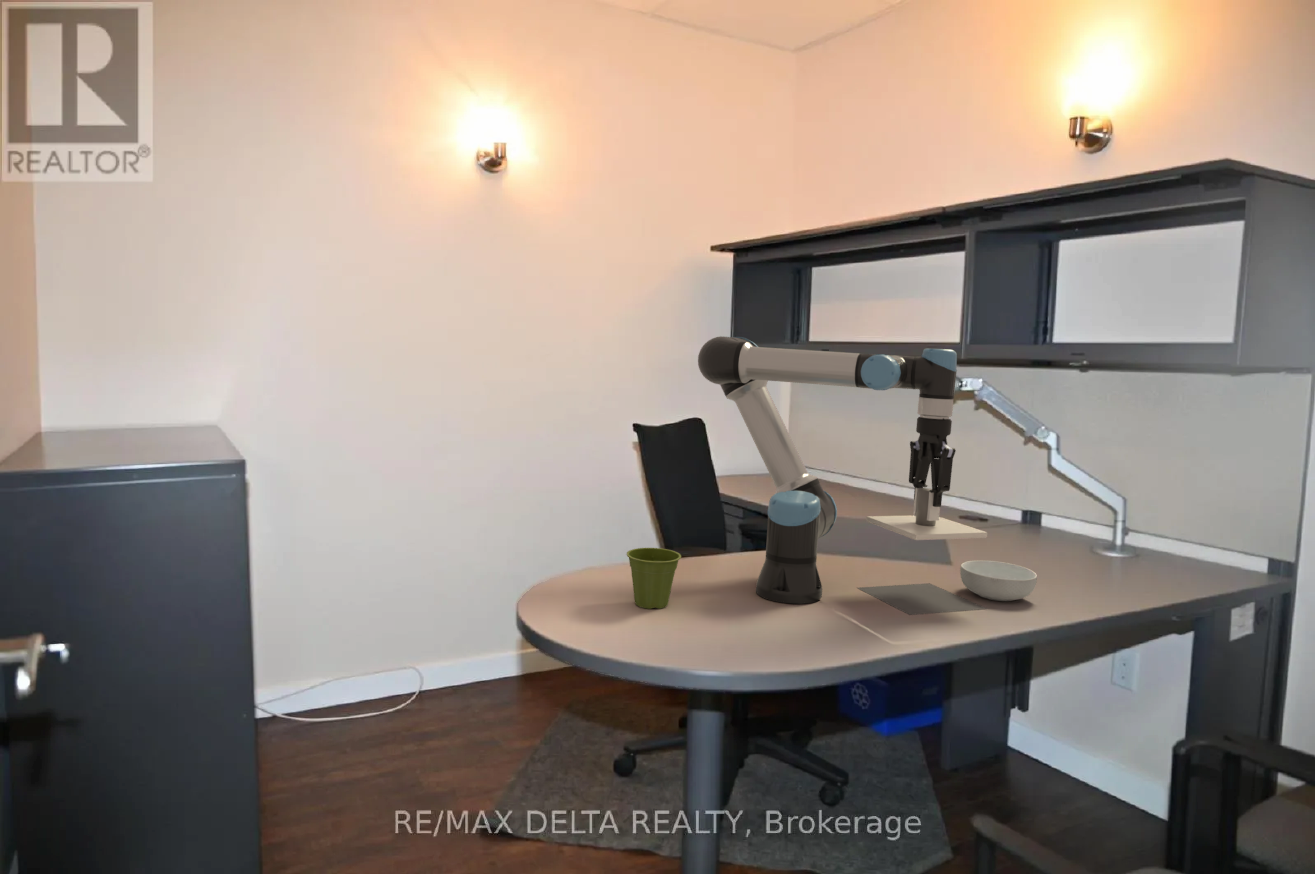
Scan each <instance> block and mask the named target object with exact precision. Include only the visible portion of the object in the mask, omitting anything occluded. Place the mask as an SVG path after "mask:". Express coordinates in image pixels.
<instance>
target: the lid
mask: <svg viewBox="0 0 1315 874" xmlns="http://www.w3.org/2000/svg"><path fill="white" fill-rule="evenodd" d="M929 490H932V488H928V487H923V488H920V489H918V499H917V511H916V516H913V515H875V516H874V515H870V516H869V515H868V516H866V521H865V522H867V523H870V524H872V525H875V526H877V527H881V528H883V529H885V530H888V531H891V532H893V533H896V534H899V535H901V536H902V537H903V536H904V537H906V538H908V539H910V540H914V541H926V540H929V541H931V540H934V541H935V540H955V539H956V540H957V539H958V540H960V539H961V540H962V539H986V538H988V532H987V531H984V530H982V529H978V528H975V527H972V526H969V525H966V524H963V523H959V522H957V521H954V520H950V519H947V518H944V517H943V516H942V517H940V516H939V521H928V520H927V512H928V501H929V492H930V491H929Z"/></svg>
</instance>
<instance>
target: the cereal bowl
mask: <svg viewBox="0 0 1315 874" xmlns="http://www.w3.org/2000/svg"><path fill="white" fill-rule="evenodd" d="M959 571H960V572H959V573H960V578H961V582H962V583H963V585H964V586H965V587H966V589H968V590H969V591H970V592H972V593H973V594H976V595H977V596H979V597H981V598H983V599H987V600H992V601H998V602H1012V601H1015V600H1016V601H1017V600H1021V599H1024V598H1026V597H1028V596H1029V595H1031V594H1032V593H1033V592H1034V590H1035V588H1036V586H1037V582H1038V575H1037V573H1036V572H1034V571H1033V570H1032V569H1029V568H1027V567H1025V566H1023V565H1022V566H1021V565H1019V564H1014V563H1010V562H1003V561H997V560H968V561H964V562H963V563H961V564H960V570H959Z"/></svg>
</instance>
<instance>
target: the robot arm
mask: <svg viewBox="0 0 1315 874" xmlns="http://www.w3.org/2000/svg"><path fill="white" fill-rule="evenodd" d="M957 361H958V355H957V352H956V351H955V350H953V349H950V348H949V349H945V348H944V349H943V348H929V347H928V348H924V349H923V351H922V354H921V356H909V355H894V354H884V353H883V354H882V353H881V354H880V353H878V354H877V353H876V354H875V353H861V352H860V353H858V352H843V351H826V350H811V349H796V348H795V349H794V348H779V347H777V348H775V347H762V346H758V345H757V344H756V343H755V342H753V341H751V340H750V339H748V338H746V337H742V336H731V337H730V336H721V335H720V336H715V337H713V338H711V339H709V340H707V341H706V342H705V343H704V344H703V345H702V347H701V348H700V350H699V352H698V356H697V365H698V369H699V372H700V374H701V375H702V376H703V378H705V379H706V380H707V381H709V382H710V383H713V384H715V385H719V386H720V387H721V390H722V391H723V394H724V397H725V398H726V399H728V400H730V401H733V402H734V403H735V404H736V407H737V409H738V410H739V413H740V415H741V418H742V419H743V421H744V423H745V426H746V427H747V430H748V432H749V433H750V437H751V438H752V440H753V441H754V442H753V443H754V444H755V446H756V448H757V450H758V453H759V455H760V458H761V459H762V460H763V463H764V465H765V467H766V469H767V471H768V473H769V477H771V479H772V481H773V485H774V486H775V488H776V489H775V493H774V494H773V495H772V496H771V497H770V498H769V503H768V507H767V527H766V528H767V529H766V530H767V531H766V541H765V542H766V543H765V544H766V545H765V546H766V547H765V560H764V563H763V566H762V567H761V569H760V573H759V575H758V578H757V580H756V583H755V584H756V587H755V592H756V594H757V595H758V596H759V597H761V598H763V599H765V600H769V601H772V602H776V603H777V602H778V603H782V604H783V603H784V604H793V605H794V604H795V605H796V604H798V605H799V604H800V605H801V604H802V605H803V604H813V603H816V602H818V601H820V599H821V598H822V597H823V596H822V595H823V586H822V582H821V579H820V578H821V576H820V574H819V571H818V566H817V560H818V559H817V556H818V541H819V539H820V538H822V537H824V536H826V535H827V534H828V533H829V532H830V531H831V530H832V528H833V526H835V523H836V521H837V516H838V508H837V505H836V502H835V499H834V497H832V495H831V494H830V493H829V492H827V491H825V490H824V488H823V487H822V484H821V482H820V480H819V478H818V476H815V475H813V474H811V473H809V472H808V470H807V468H806V465H805V463H804V462H803V460H802V458H801V455H800V453H799V451H798V449H797V446H796V445H795V442H793V441H794V440H793V439H792V437H791V435H790V433H789V431H788V429H787V426H786V425H785V423H784V421H783V419H782V416H781V414H780V412H779V410H778V408H777V406H776V404H775V402H774V400H773V398H772V396H771V394H770V392H769V390H768V388H767V385H768V381H769V382H770V381H771V382H782V383H783V382H784V383H795V384H796V383H797V384H808V385H820V386H821V385H822V386H823V385H824V386H836V387H845V388H846V387H848V388H860V389H871V390H875V391H886V390H889V389H890V390H891V389H905V390H906V389H907V390H919V394H918V396H919V397H918V401H917V402H918V404H917V414H918V415H919V416H918V417H917V418H916V429H915V432H916V433H918V434H919V436H918V438H917V440H912V441H911V440H910V441H909V448H910V456H909V457H910V459H909V460H910V461H909V474H908V483H909V484H912V485H913V487H914V490H913V491H914V492H913V493H914V494H913V500H914V501H913V511H912V512H913V516H916V511H917V499H918V489H920V488H928V486H929V485H927V479H928V474H929V469H930V475H931V489H932V490H929V491H930V492H929V501H928V512H927V520H928V521H939V517H940V513H941V512H940V511H941V506H942V501H943V500H942V499H943V493H944V492H949V491H950V489H951V480H952V472H953V462H954V457H955V454H956V452H957V451H956V448H954V447H950V446H949V445H948V441H947V438H948V436H950V435H951V434H952V424H953V421H952V420H951V418H950V417H953V410H954V399H955V389H956V388H955V387H956V380H957V379H956V378H957V371H958V370H957Z"/></svg>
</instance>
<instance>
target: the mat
mask: <svg viewBox="0 0 1315 874" xmlns="http://www.w3.org/2000/svg"><path fill="white" fill-rule="evenodd" d="M857 589H858V590H860V591H862V592H864V593H866V594H868V596H869V595H870V596H871V597H873V598H876V599H877V600H879V601H881V602H883V603H886V604H887V605H889V606H891V607H893V608H895V609H896V610H899V611H901V612H903V613H905V614H907V615H909V616H915V615H917V616H918V615H928V614H930V615H931V614H943V613H953V612H954V613H955V612H956V613H957V612H968V611H969V612H970V611H981V610H988V608H987V607H985V606H982V605H981V604H978V603H975V602H973V601H971V600H969V599H966V598H964V597H962V596H961V595H958V594H955V593H952V592H951V591H948V590H946V589H944V588H942V587H939V586H937V585H935V584H932V583H930V582H928V583H926V582H925V583H914V584H913V583H911V584H910V583H909V584H893V585H878V586H877V585H876V586H864V587H857Z"/></svg>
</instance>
